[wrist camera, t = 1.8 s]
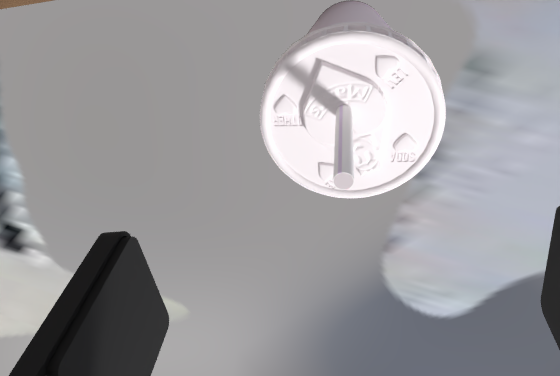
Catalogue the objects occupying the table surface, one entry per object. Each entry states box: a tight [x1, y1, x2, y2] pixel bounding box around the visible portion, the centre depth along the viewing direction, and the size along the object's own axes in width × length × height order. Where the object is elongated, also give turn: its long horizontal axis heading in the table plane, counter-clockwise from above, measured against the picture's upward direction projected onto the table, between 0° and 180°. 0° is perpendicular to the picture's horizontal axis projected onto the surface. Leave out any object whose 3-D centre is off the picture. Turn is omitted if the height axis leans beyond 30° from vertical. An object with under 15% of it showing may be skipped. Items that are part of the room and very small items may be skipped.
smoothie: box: [260, 1, 446, 198], centre depth 19 cm, size 6×6×14 cm
